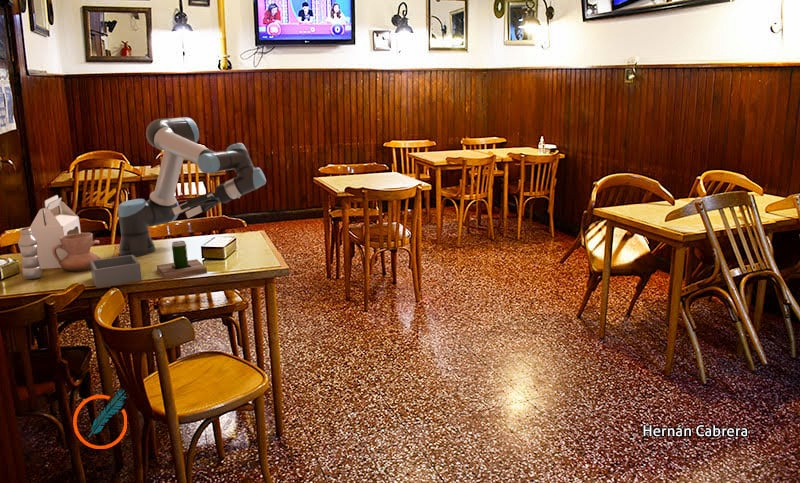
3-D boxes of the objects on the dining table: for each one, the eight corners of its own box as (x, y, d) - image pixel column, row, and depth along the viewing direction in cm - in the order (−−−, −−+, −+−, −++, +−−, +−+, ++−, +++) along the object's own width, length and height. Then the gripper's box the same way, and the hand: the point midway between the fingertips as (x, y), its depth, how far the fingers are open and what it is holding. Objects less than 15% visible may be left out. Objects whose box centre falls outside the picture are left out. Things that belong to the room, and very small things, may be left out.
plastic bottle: (28, 276, 264) (20, 227, 259) (45, 275, 264) (38, 226, 259) (20, 281, 257) (12, 231, 253) (38, 280, 258) (30, 230, 253)
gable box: (68, 267, 276) (58, 201, 269) (34, 269, 274) (24, 203, 267) (84, 254, 297) (75, 192, 291) (52, 256, 295) (43, 194, 288)
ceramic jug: (106, 262, 282) (100, 229, 279) (100, 270, 269) (95, 236, 265) (59, 267, 278) (54, 234, 274) (52, 276, 264) (46, 241, 261)
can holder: (157, 269, 268) (156, 265, 268) (197, 263, 276) (196, 259, 276) (165, 279, 255) (164, 274, 254) (206, 272, 263) (206, 267, 262)
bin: (92, 277, 259) (89, 260, 258) (135, 271, 267) (133, 254, 265) (96, 288, 246) (94, 270, 244) (142, 281, 254) (139, 263, 252)
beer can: (176, 274, 262) (173, 244, 259) (173, 271, 266) (170, 242, 263) (190, 271, 265) (187, 242, 262) (186, 268, 269) (183, 240, 266)
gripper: (222, 196, 251) (171, 219, 252) (241, 203, 276) (195, 224, 277) (214, 178, 252) (164, 201, 252) (233, 187, 277) (188, 208, 277)
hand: (180, 213), depth 264 cm, fingers open, 13 cm apart
